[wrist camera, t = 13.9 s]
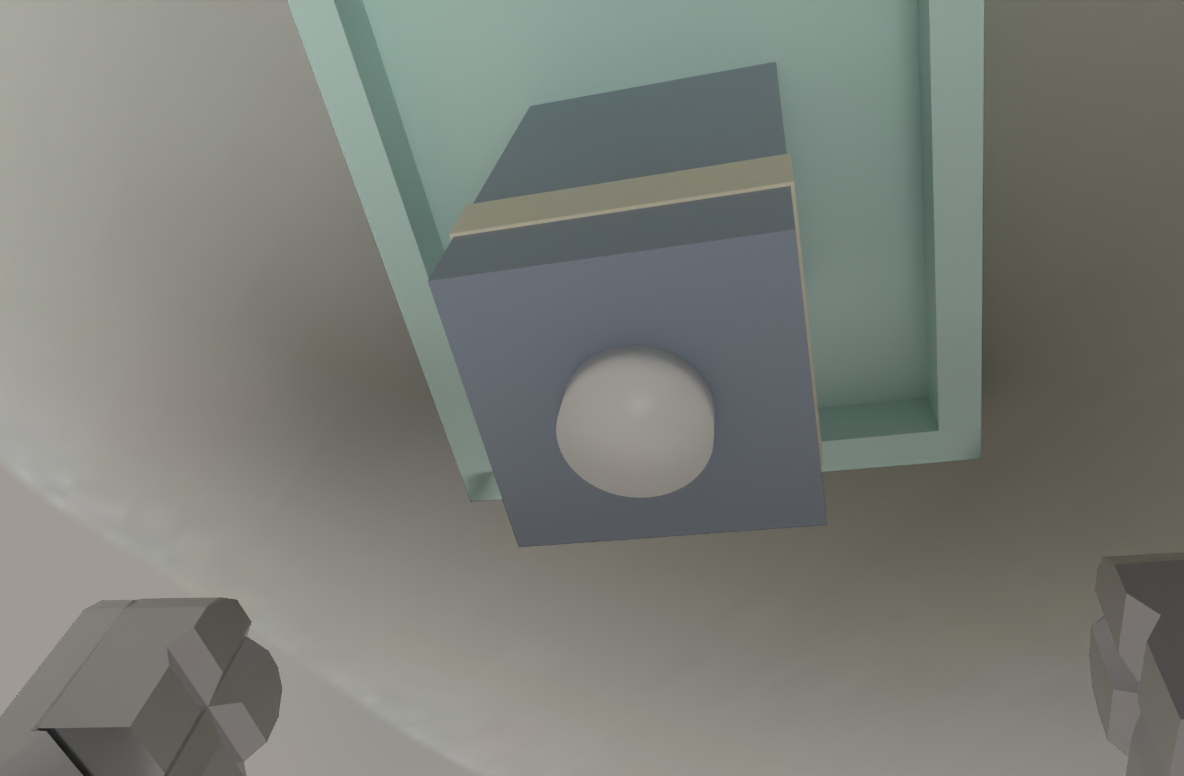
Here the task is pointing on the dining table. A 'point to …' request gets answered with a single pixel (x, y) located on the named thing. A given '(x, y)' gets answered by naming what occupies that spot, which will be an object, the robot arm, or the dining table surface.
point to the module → (640, 316)
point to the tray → (813, 137)
